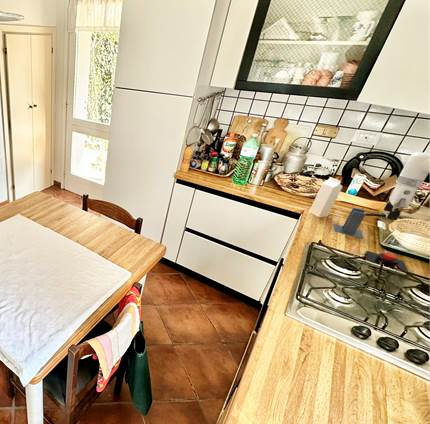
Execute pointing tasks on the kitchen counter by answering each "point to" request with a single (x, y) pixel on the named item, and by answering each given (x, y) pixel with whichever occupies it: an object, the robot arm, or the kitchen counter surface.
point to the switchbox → (385, 260)
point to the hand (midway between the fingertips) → (389, 215)
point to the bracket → (352, 224)
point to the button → (389, 256)
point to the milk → (326, 197)
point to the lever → (376, 214)
